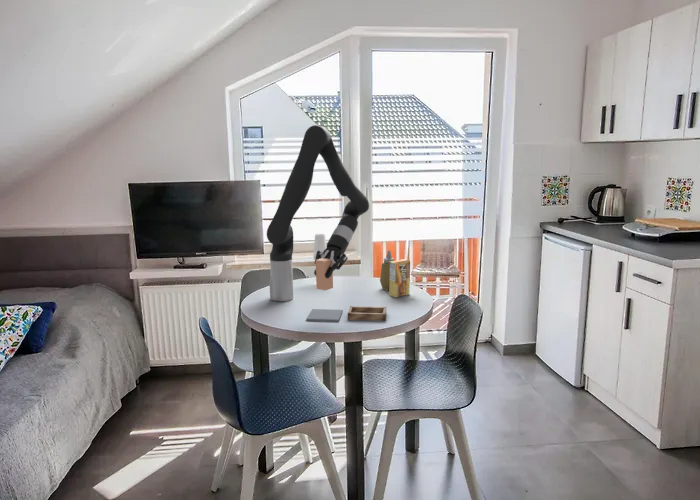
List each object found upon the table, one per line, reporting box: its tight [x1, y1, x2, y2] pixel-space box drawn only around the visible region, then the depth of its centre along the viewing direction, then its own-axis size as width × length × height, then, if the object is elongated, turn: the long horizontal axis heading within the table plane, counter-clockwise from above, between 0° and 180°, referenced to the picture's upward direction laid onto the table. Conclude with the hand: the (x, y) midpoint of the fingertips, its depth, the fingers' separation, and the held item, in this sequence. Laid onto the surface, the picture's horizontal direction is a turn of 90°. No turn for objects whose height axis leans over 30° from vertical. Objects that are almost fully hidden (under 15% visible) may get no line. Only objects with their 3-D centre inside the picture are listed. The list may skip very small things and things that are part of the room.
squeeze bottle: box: [379, 249, 395, 291], centre depth 215 cm, size 8×8×18 cm
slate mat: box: [305, 308, 343, 323], centre depth 177 cm, size 12×12×1 cm
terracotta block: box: [315, 258, 334, 291], centre depth 175 cm, size 4×4×11 cm
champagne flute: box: [313, 233, 327, 285], centre depth 225 cm, size 7×7×24 cm
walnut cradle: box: [347, 305, 387, 322], centre depth 177 cm, size 14×9×2 cm, turn 84°
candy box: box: [388, 258, 411, 298], centre depth 205 cm, size 9×4×15 cm, turn 129°
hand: (321, 276), depth 173 cm, fingers closed on terracotta block, 4 cm apart
